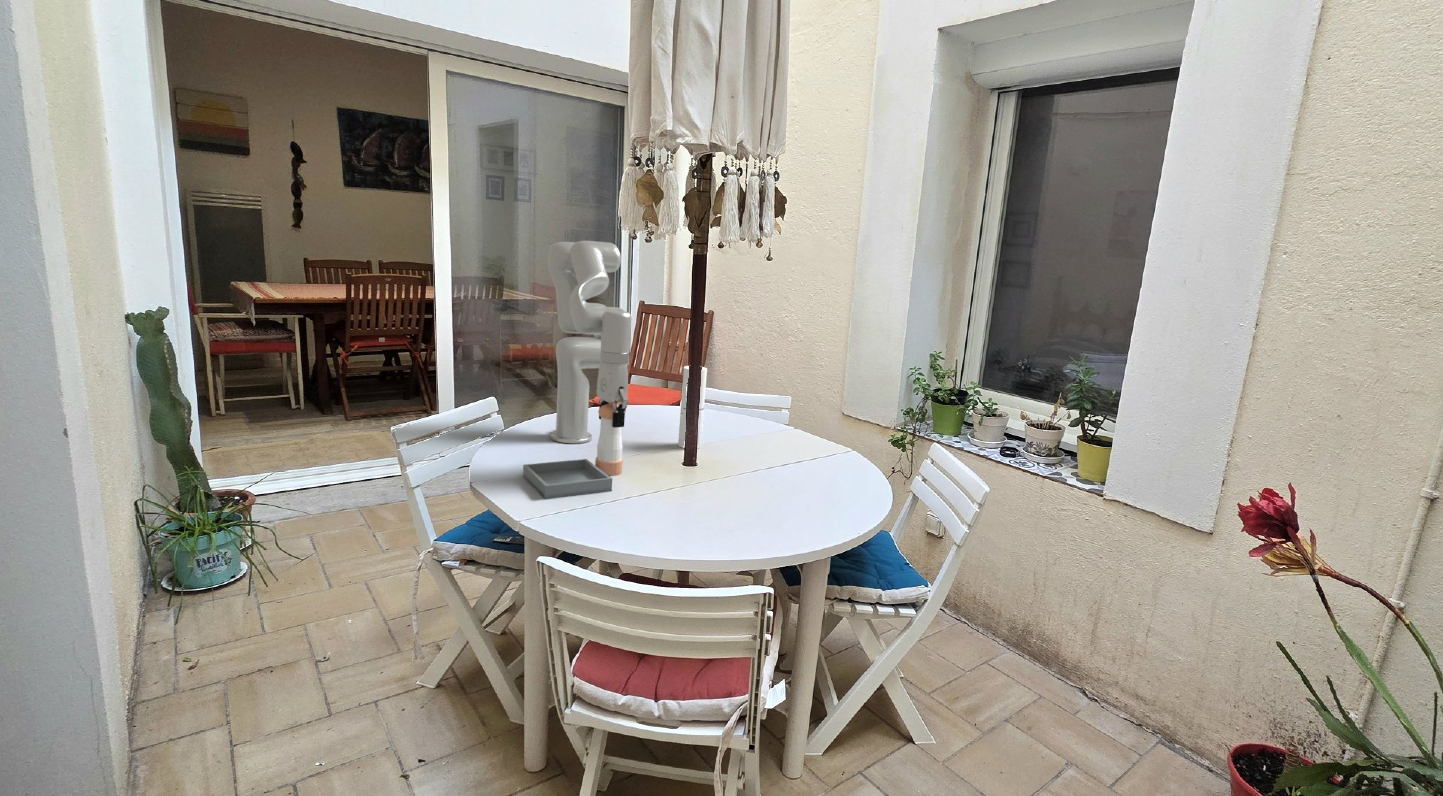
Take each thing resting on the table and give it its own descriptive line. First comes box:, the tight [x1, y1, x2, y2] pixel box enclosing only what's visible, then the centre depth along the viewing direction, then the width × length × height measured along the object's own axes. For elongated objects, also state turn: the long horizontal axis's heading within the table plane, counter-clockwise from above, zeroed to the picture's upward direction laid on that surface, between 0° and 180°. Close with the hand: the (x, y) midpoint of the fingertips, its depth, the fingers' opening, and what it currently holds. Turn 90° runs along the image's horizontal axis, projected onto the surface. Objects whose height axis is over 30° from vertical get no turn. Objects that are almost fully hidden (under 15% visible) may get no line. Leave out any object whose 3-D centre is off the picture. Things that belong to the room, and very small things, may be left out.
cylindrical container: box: [677, 365, 708, 449], centre depth 217 cm, size 7×7×25 cm
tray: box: [522, 458, 613, 500], centre depth 176 cm, size 17×17×3 cm
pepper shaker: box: [594, 402, 624, 476], centre depth 187 cm, size 7×7×19 cm
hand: (611, 422), depth 186 cm, fingers open, 8 cm apart
